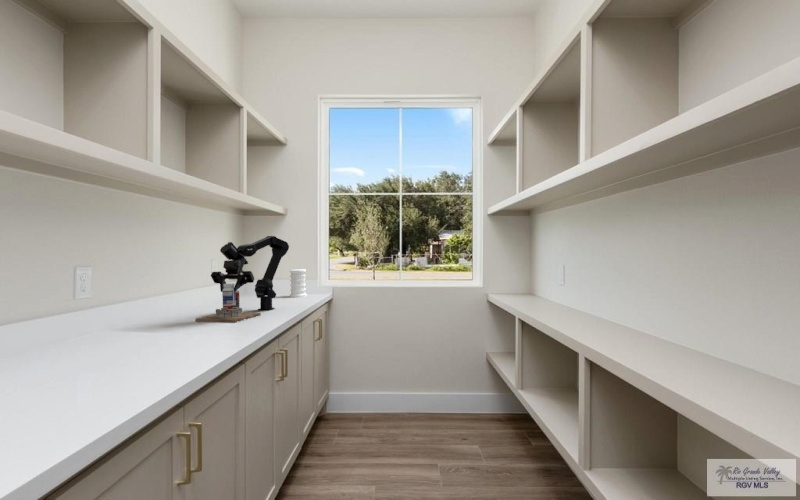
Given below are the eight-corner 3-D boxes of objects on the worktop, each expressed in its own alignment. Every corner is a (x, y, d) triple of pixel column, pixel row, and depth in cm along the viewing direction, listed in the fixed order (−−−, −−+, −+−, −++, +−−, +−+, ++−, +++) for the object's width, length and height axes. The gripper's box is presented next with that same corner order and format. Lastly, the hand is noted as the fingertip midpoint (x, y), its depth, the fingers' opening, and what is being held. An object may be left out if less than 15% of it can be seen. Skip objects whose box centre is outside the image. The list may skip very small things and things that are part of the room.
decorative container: (295, 297, 278) (295, 270, 278) (286, 296, 286) (285, 270, 286) (310, 296, 286) (310, 269, 286) (300, 295, 294) (300, 269, 294)
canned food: (234, 314, 207) (234, 291, 207) (219, 313, 208) (219, 291, 208) (242, 311, 215) (242, 290, 215) (228, 311, 216) (227, 290, 216)
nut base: (223, 314, 206) (223, 305, 206) (260, 315, 201) (260, 306, 201) (195, 321, 186) (195, 311, 186) (235, 322, 182) (235, 312, 182)
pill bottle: (229, 304, 198) (228, 283, 198) (238, 304, 196) (238, 283, 196) (219, 305, 192) (219, 284, 192) (229, 306, 190) (229, 284, 190)
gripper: (212, 254, 198) (201, 280, 187) (251, 253, 198) (242, 279, 187) (219, 270, 206) (209, 295, 195) (257, 269, 206) (249, 294, 195)
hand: (227, 291), depth 193 cm, fingers closed on pill bottle, 6 cm apart
